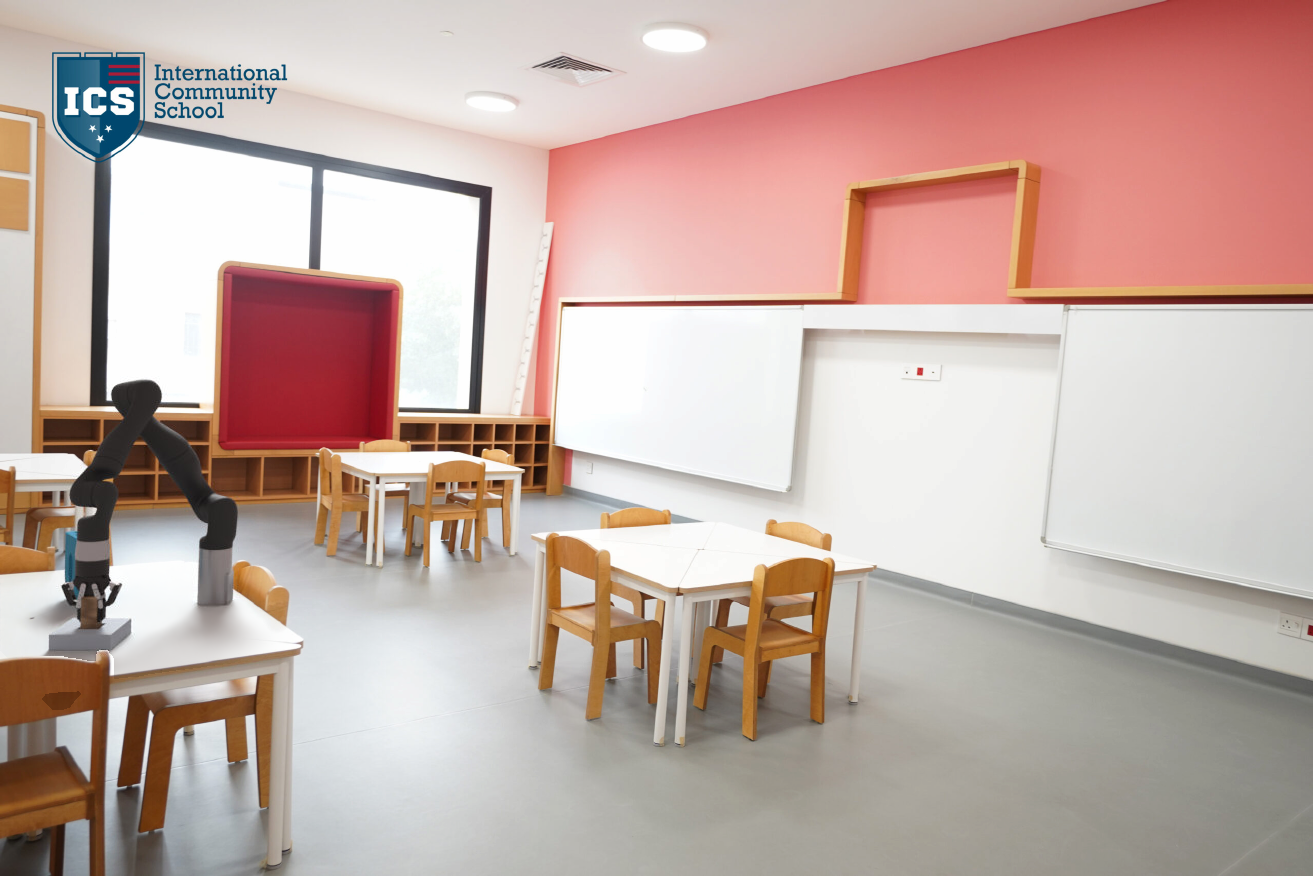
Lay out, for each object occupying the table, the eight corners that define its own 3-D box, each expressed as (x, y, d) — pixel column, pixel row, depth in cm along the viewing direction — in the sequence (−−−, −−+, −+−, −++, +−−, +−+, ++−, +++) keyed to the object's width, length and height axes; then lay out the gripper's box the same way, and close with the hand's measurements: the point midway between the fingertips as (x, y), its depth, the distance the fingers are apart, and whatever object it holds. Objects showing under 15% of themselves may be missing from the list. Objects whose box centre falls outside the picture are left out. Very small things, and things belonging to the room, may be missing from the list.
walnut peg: (101, 630, 228) (102, 593, 227) (95, 635, 225) (96, 597, 224) (86, 630, 227) (87, 593, 227) (80, 635, 224) (81, 597, 223)
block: (96, 603, 256) (97, 537, 255) (76, 606, 253) (77, 539, 251) (82, 594, 264) (83, 530, 262) (63, 597, 260) (64, 531, 259)
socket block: (131, 632, 235) (131, 618, 234) (110, 650, 221) (110, 634, 221) (73, 632, 231) (73, 617, 231) (48, 650, 218) (48, 634, 218)
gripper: (128, 554, 230) (126, 617, 231) (68, 552, 226) (67, 616, 228) (117, 560, 222) (115, 626, 224) (55, 559, 219) (53, 625, 221)
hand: (91, 621), depth 226 cm, fingers closed on walnut peg, 3 cm apart
